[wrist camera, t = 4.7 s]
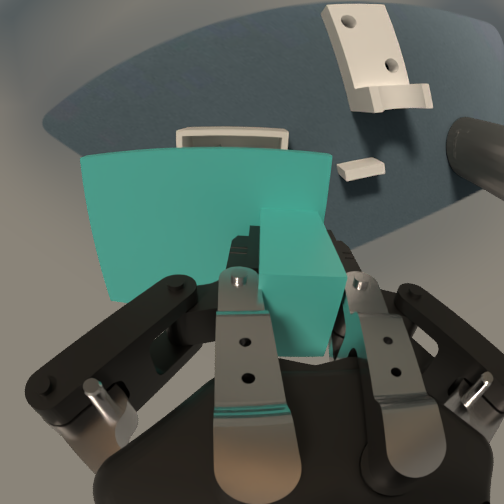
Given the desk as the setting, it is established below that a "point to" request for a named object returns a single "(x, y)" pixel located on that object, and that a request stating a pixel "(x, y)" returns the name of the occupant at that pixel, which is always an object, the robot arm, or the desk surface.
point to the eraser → (360, 168)
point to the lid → (221, 228)
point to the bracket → (371, 59)
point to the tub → (232, 137)
